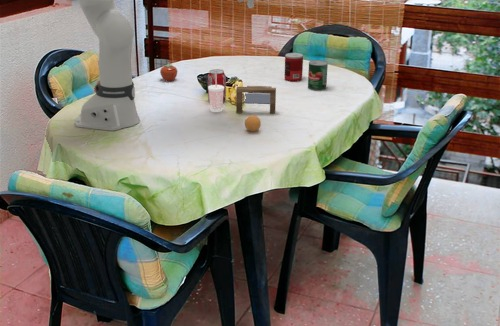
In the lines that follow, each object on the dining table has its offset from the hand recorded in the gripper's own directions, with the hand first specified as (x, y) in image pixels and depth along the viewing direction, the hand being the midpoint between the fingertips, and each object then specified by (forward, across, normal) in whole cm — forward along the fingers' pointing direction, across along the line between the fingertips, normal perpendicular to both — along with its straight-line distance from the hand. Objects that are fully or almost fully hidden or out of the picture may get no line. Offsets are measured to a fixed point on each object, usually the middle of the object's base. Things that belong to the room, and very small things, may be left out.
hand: (245, 4), depth 217 cm
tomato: (+39, -48, -24) cm, 66 cm away
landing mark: (+42, -9, +2) cm, 43 cm away
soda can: (+39, -13, -14) cm, 43 cm away
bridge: (+39, +5, -5) cm, 40 cm away
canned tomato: (+49, -14, +30) cm, 59 cm away
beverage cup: (+37, -3, -18) cm, 41 cm away
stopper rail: (+43, -17, +5) cm, 47 cm away
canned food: (+49, -29, +26) cm, 63 cm away
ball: (+33, +23, -13) cm, 42 cm away
